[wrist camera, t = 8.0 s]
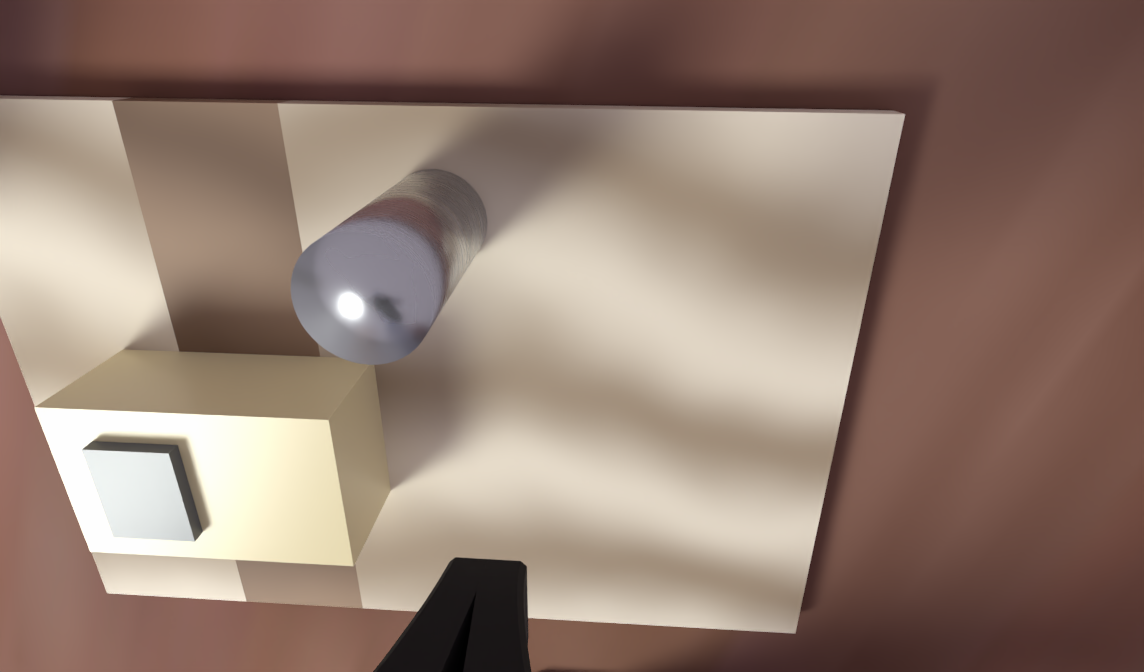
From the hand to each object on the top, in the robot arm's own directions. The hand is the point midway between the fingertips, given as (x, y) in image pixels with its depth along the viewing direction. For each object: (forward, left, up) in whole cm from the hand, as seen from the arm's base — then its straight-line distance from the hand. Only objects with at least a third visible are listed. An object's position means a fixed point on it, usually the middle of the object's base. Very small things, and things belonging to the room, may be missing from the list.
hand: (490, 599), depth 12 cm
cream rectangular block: (-2, +9, -9) cm, 13 cm away
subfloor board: (-1, +4, -10) cm, 10 cm away
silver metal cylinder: (+5, +3, -9) cm, 10 cm away
